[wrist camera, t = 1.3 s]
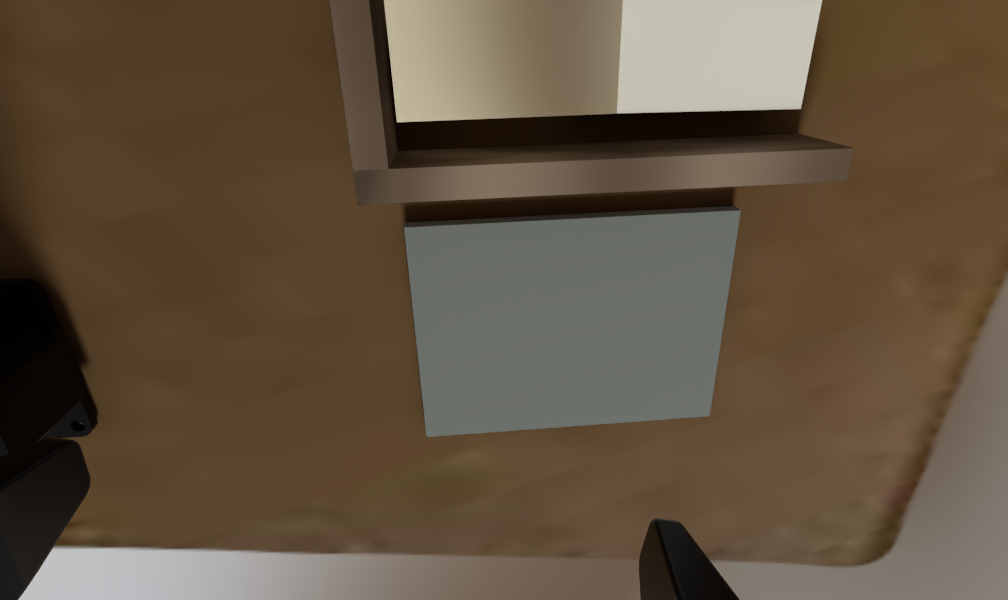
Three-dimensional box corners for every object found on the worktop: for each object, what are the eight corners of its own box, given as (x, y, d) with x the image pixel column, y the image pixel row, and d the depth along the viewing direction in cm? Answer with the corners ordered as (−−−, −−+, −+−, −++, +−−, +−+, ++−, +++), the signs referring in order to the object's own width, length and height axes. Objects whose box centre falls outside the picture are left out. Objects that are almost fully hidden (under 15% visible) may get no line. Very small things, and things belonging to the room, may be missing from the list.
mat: (427, 427, 24) (426, 437, 23) (405, 222, 20) (403, 227, 19) (703, 407, 24) (709, 416, 24) (733, 205, 21) (740, 210, 20)
